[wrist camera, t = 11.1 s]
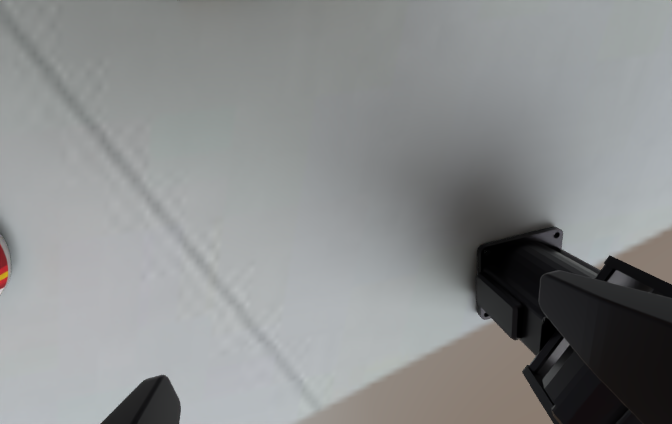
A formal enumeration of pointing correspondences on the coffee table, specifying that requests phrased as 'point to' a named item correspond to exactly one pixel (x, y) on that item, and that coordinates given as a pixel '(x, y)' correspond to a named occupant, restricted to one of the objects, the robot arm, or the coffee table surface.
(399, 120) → the coffee table surface
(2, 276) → the soda can
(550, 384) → the robot arm
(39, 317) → the coffee table surface
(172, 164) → the coffee table surface
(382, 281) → the coffee table surface
